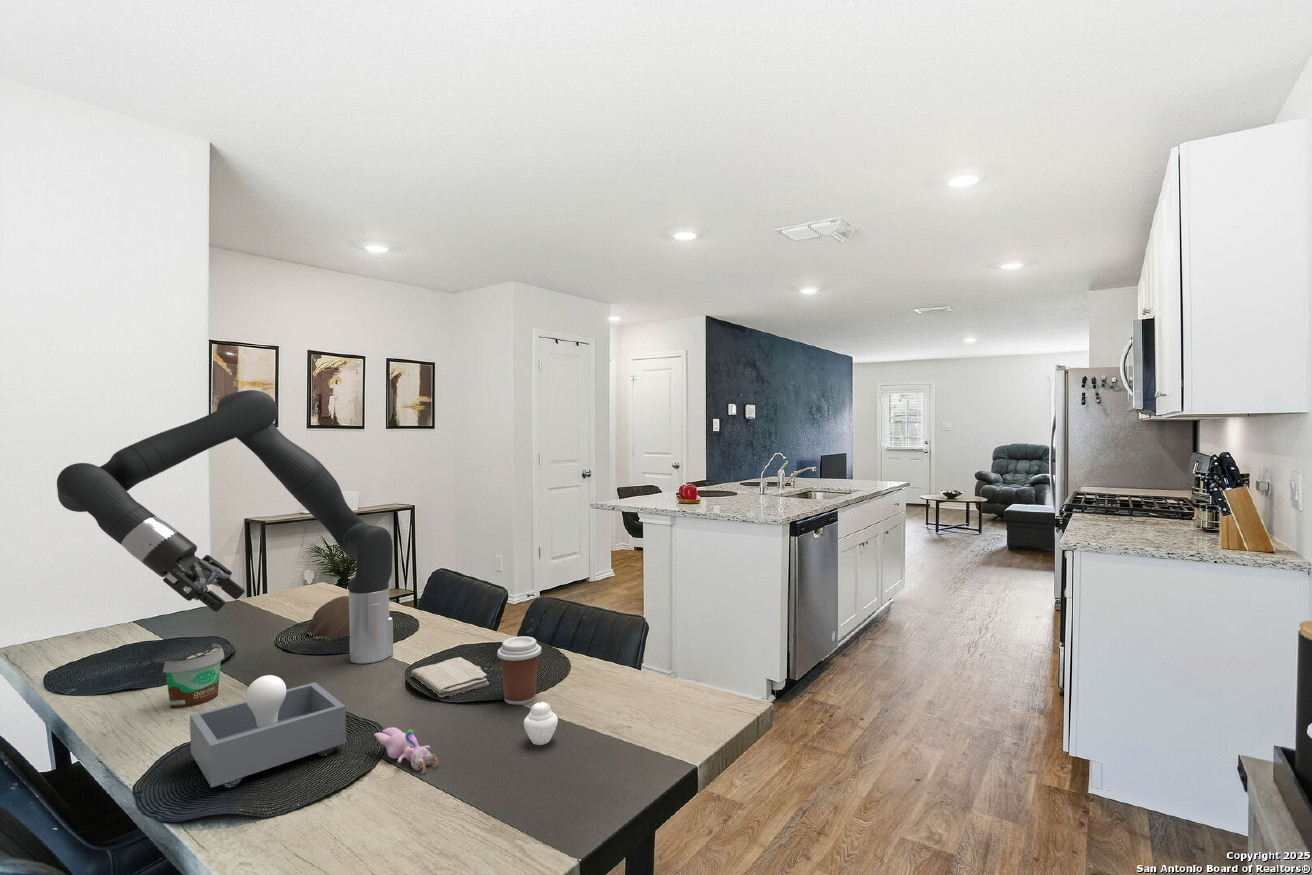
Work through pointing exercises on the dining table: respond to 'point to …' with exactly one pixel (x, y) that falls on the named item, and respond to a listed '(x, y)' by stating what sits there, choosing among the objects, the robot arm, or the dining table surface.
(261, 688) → the lightbulb
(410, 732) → the pink toy animal
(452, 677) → the washcloth
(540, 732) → the white lidded jar
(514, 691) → the coffee cup
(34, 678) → the dining table surface
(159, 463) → the robot arm
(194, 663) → the food container
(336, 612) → the decorative dome
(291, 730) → the grey open box
